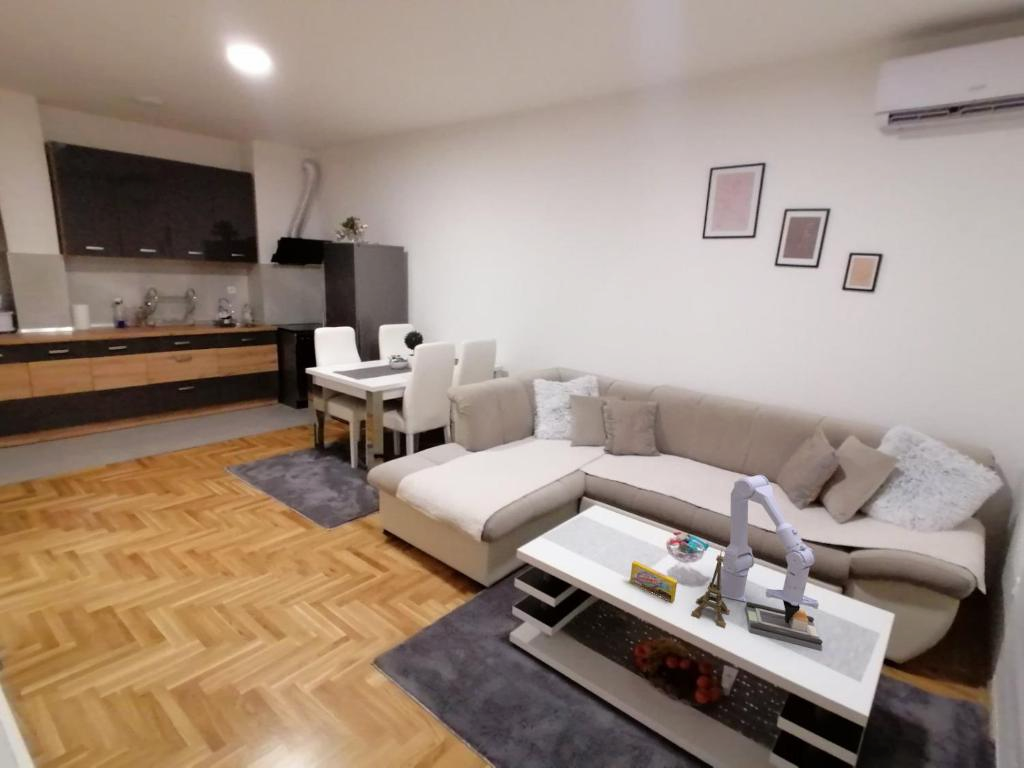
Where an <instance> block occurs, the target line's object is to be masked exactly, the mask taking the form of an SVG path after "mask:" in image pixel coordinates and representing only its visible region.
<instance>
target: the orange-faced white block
mask: <svg viewBox="0 0 1024 768" xmlns="http://www.w3.org/2000/svg"><path fill="white" fill-rule="evenodd" d="M807 616H808V615H807V613H806V611H805V610H801V609H799V611H797V612H796V613H795V614H794V615H793V616H792V617H791V619H790V622H789V623H790V627H791V629H795V630H799V631H803V632H806V630H807V626H808V618H807Z"/></svg>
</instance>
